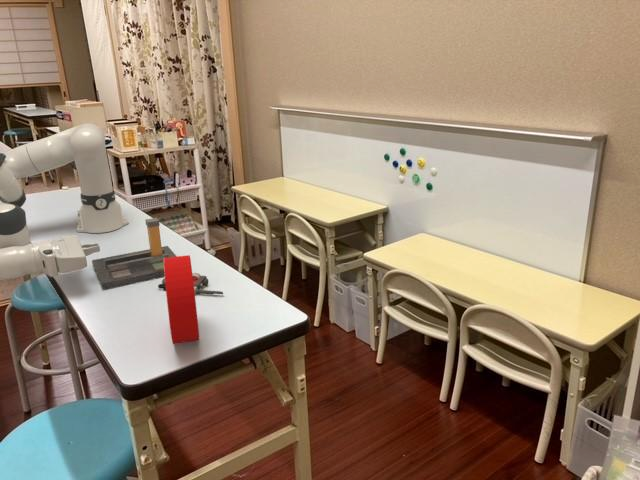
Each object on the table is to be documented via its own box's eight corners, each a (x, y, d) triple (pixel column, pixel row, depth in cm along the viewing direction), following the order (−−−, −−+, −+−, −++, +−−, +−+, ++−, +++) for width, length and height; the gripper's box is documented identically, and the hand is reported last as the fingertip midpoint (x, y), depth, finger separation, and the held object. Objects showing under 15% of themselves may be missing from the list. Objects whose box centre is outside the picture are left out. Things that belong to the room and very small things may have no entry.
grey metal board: (92, 266, 161) (90, 254, 160) (168, 251, 173) (166, 240, 171) (103, 289, 145) (100, 277, 144) (185, 271, 156) (184, 260, 155)
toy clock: (201, 356, 113) (193, 275, 106) (174, 361, 112) (164, 279, 105) (195, 314, 131) (188, 243, 124) (172, 318, 130) (163, 245, 123)
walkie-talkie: (154, 294, 143) (222, 299, 140) (152, 280, 142) (220, 285, 139) (168, 281, 151) (232, 285, 148) (166, 267, 150) (231, 272, 147)
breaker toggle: (150, 257, 161) (145, 219, 157) (161, 255, 163) (156, 217, 159) (153, 261, 159) (147, 222, 154) (163, 258, 160) (159, 220, 156)
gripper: (46, 254, 153) (95, 246, 159) (52, 279, 136) (106, 268, 143) (42, 235, 151) (91, 227, 157) (47, 257, 134) (103, 248, 141)
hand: (99, 247), depth 150 cm, fingers closed
